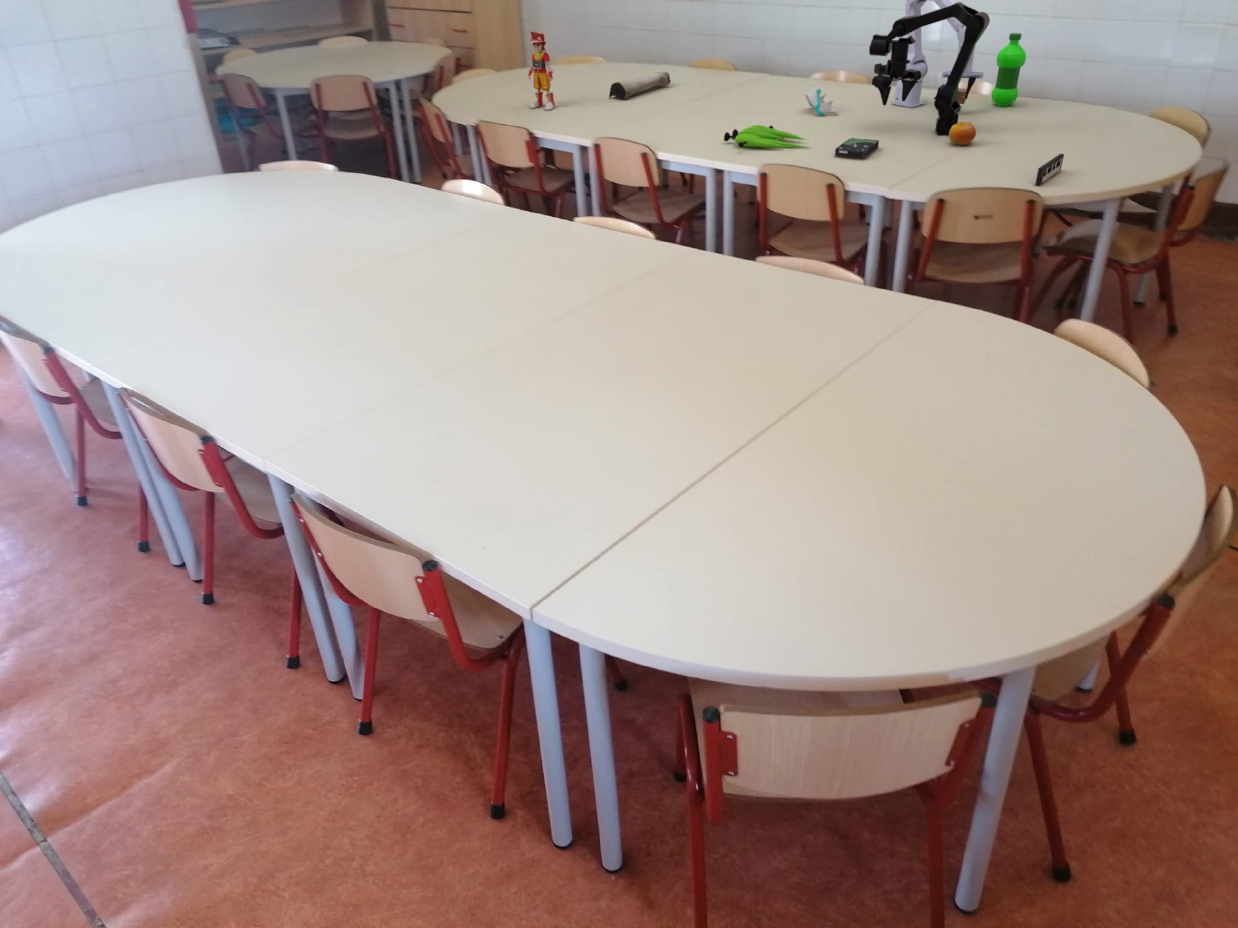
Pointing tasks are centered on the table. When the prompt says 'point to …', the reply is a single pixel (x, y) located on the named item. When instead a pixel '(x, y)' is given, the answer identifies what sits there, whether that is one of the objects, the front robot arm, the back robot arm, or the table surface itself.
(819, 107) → the anatomical model
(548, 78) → the toy
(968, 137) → the fruit
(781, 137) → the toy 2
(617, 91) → the rolled mat
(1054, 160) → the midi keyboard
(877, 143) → the disk drive
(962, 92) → the block
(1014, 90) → the plastic bottle
